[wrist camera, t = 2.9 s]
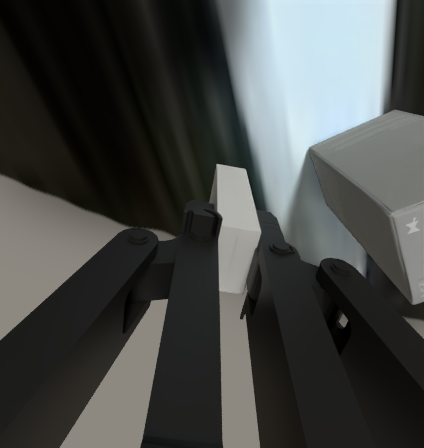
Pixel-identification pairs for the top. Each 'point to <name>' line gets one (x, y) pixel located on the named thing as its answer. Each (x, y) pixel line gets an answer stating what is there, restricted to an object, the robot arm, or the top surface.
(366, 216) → the skincare box
